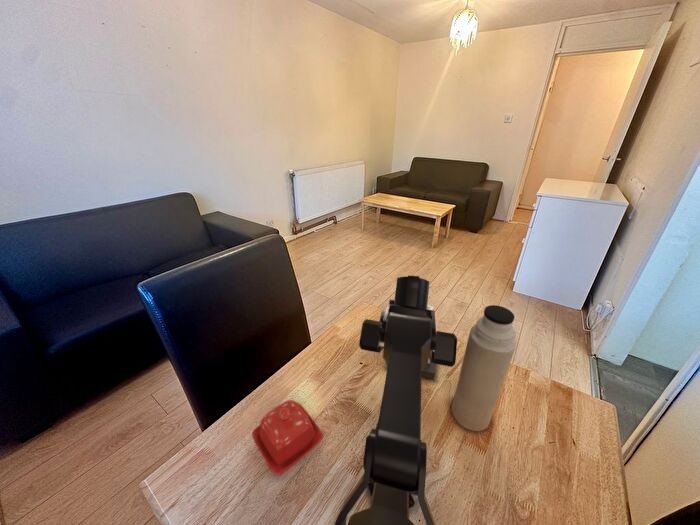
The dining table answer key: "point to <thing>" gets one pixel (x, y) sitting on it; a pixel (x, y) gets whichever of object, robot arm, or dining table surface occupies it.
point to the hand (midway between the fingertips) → (406, 344)
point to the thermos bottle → (484, 368)
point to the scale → (428, 370)
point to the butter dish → (286, 436)
